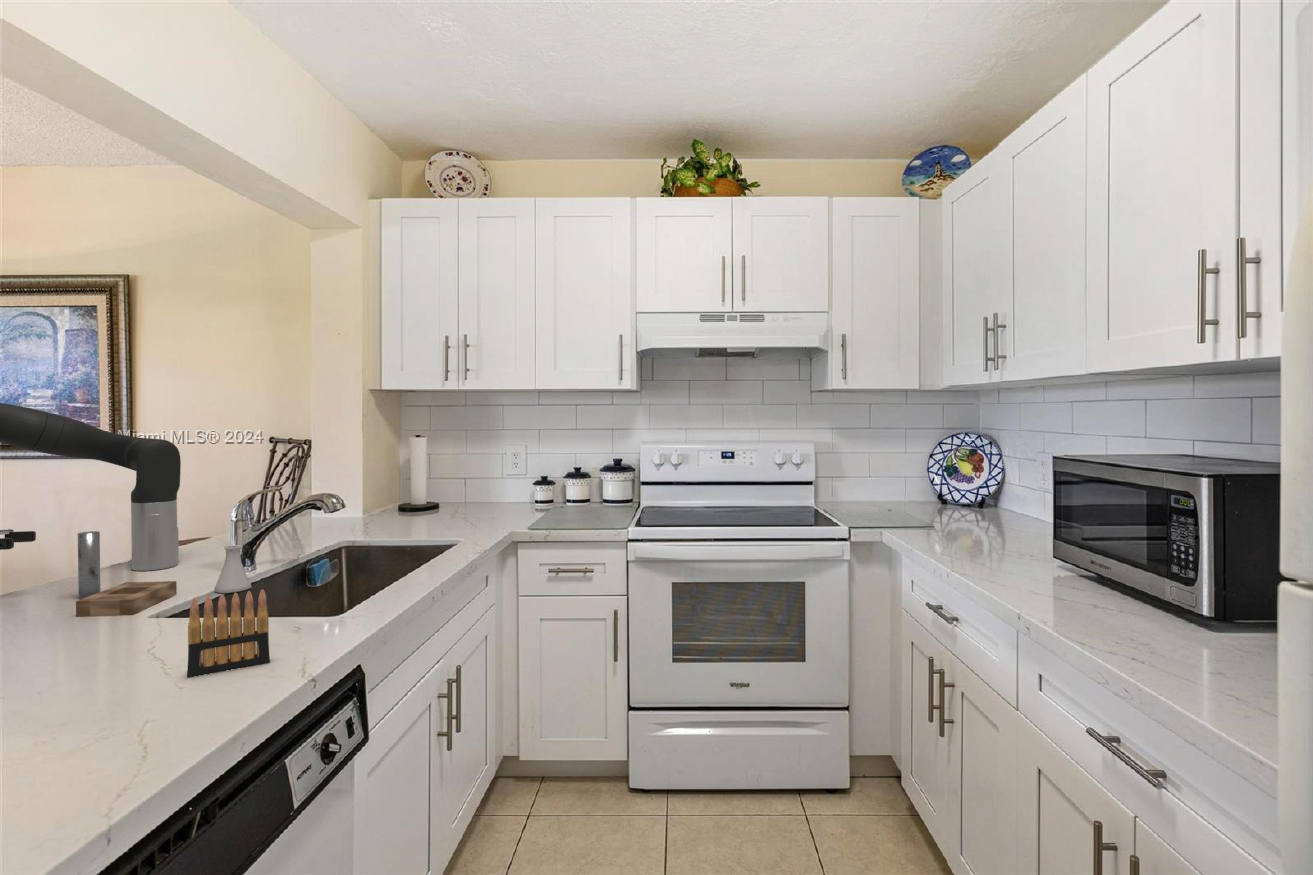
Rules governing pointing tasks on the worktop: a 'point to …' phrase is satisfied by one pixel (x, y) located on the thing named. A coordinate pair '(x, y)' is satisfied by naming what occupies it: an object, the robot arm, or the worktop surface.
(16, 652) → the worktop surface
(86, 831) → the worktop surface
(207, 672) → the ammunition clip
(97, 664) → the worktop surface
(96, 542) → the peg
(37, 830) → the worktop surface
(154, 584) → the hole block
